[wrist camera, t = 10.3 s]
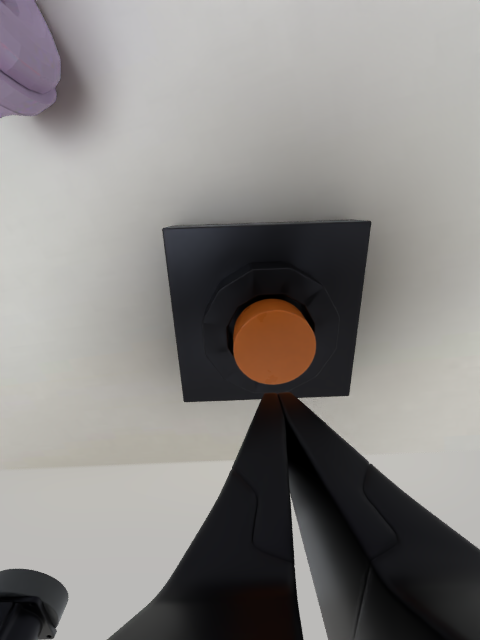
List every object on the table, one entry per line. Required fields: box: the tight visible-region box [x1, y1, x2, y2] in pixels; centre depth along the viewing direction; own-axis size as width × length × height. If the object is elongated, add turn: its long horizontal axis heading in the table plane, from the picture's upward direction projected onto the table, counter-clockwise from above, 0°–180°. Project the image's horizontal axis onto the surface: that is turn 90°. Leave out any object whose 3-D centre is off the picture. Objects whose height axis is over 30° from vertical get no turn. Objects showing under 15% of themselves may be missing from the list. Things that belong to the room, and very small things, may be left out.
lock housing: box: [162, 220, 371, 402], centre depth 15 cm, size 10×10×4 cm
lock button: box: [233, 299, 316, 385], centre depth 13 cm, size 4×4×2 cm
